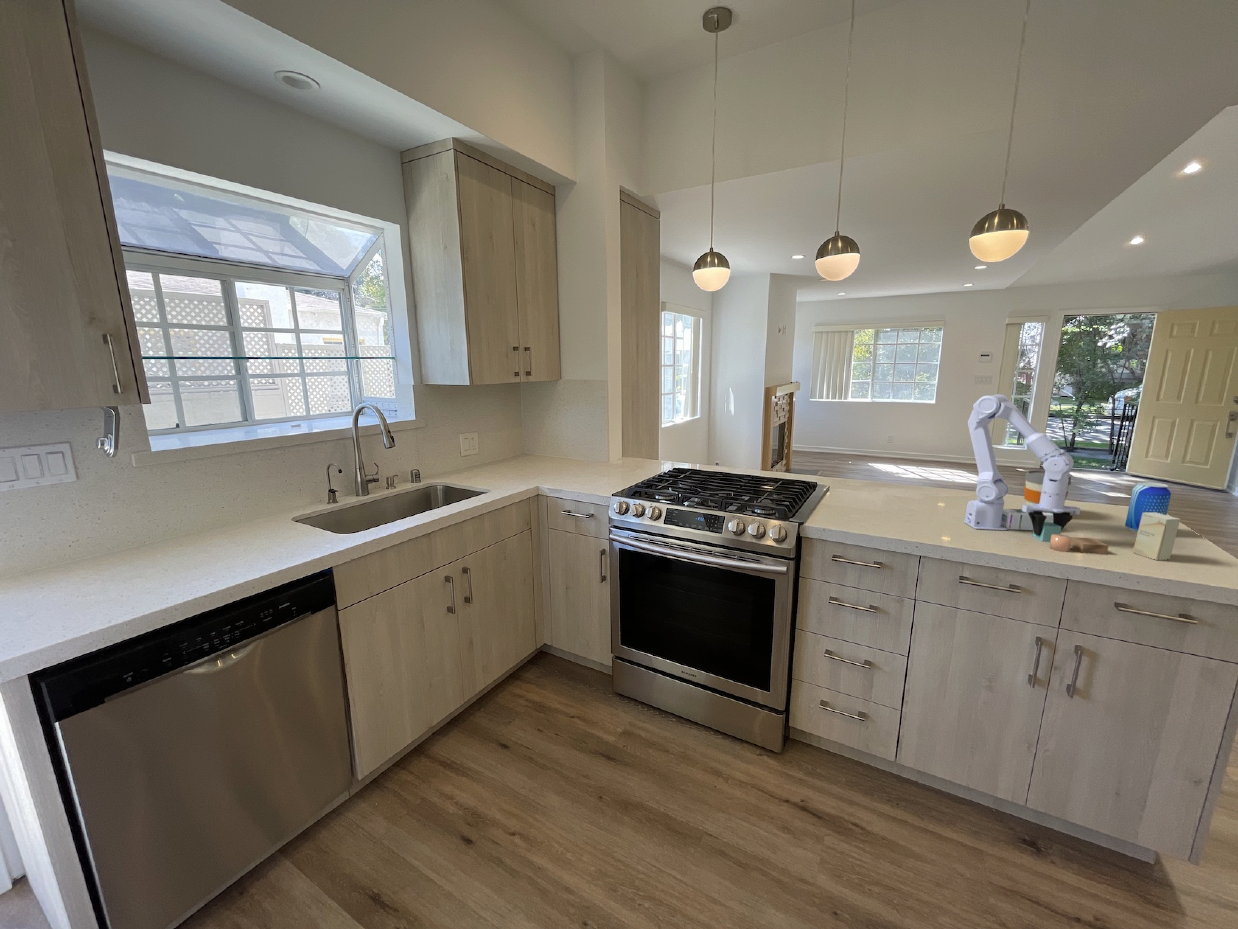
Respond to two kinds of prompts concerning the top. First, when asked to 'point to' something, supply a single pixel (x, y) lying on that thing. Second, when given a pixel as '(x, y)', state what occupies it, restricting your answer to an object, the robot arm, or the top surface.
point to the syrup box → (1020, 519)
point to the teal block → (1048, 531)
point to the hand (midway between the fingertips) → (1046, 535)
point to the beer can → (1146, 502)
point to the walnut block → (1088, 545)
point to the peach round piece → (1060, 542)
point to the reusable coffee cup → (1035, 486)
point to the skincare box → (1156, 535)
